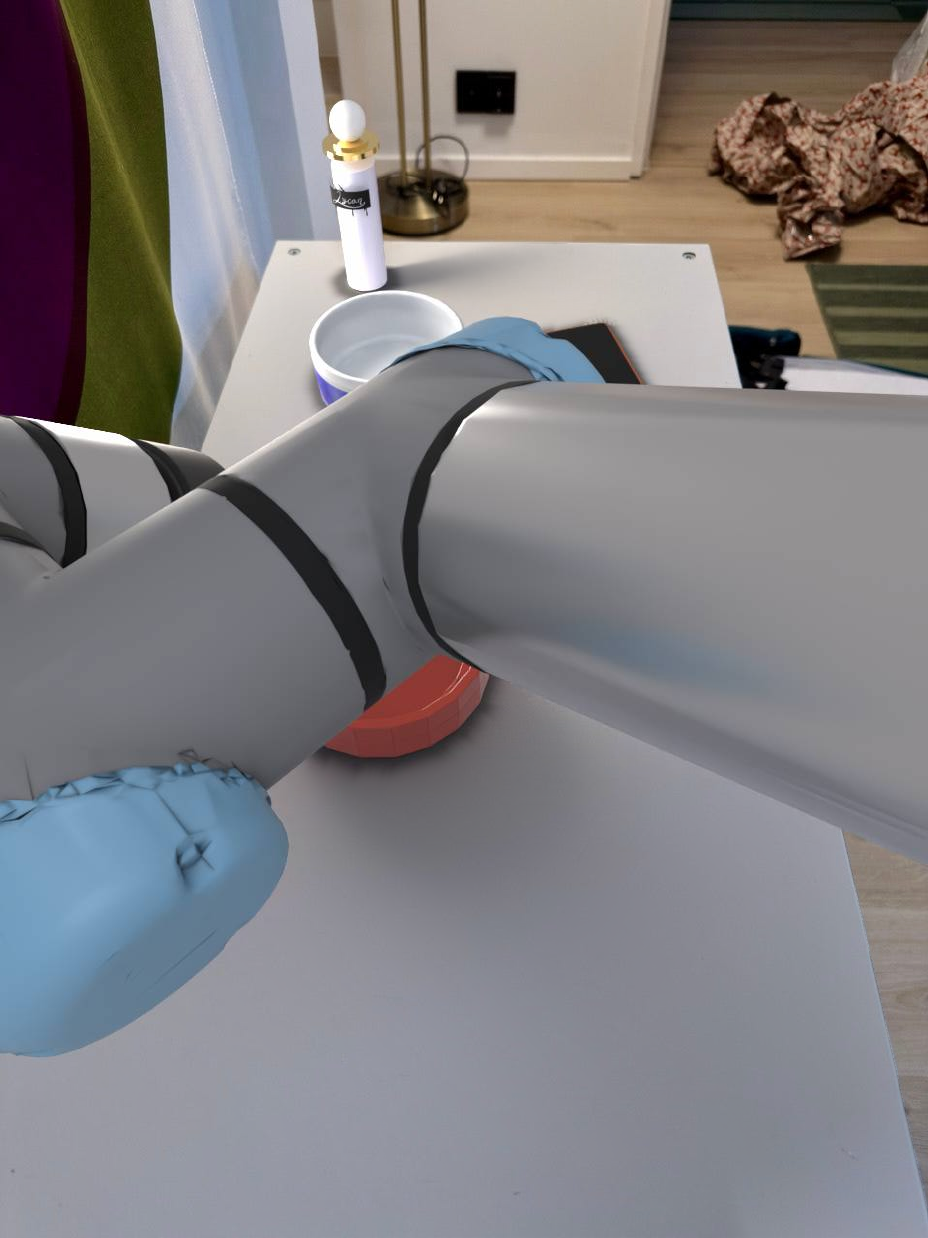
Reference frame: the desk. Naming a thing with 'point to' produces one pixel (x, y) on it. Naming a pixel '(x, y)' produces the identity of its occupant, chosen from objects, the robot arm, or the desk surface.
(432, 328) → the dog bowl
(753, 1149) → the desk surface
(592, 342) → the smartphone
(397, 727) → the red bowl
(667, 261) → the desk surface
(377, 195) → the perfume bottle
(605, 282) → the desk surface
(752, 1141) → the desk surface
